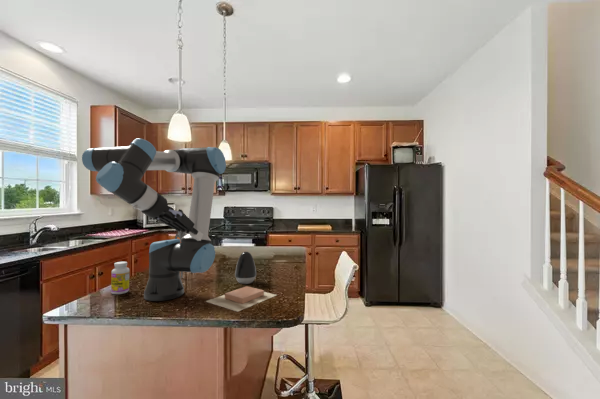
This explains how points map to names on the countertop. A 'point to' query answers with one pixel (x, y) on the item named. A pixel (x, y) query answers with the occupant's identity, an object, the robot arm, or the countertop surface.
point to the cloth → (238, 306)
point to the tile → (244, 294)
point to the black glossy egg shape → (245, 269)
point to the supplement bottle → (120, 278)
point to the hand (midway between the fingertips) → (200, 237)
